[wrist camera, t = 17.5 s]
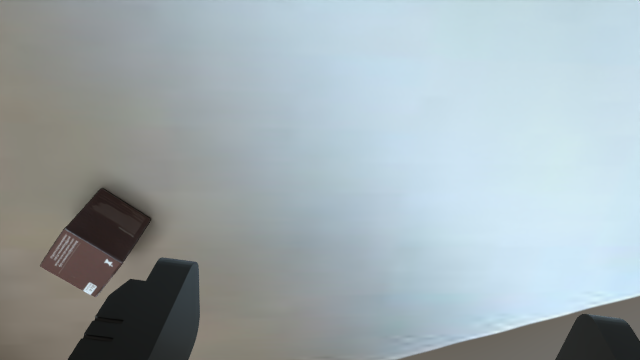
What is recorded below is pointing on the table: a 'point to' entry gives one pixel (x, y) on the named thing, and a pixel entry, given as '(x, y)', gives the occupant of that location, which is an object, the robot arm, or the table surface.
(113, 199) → the box
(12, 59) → the table surface
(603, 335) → the robot arm
